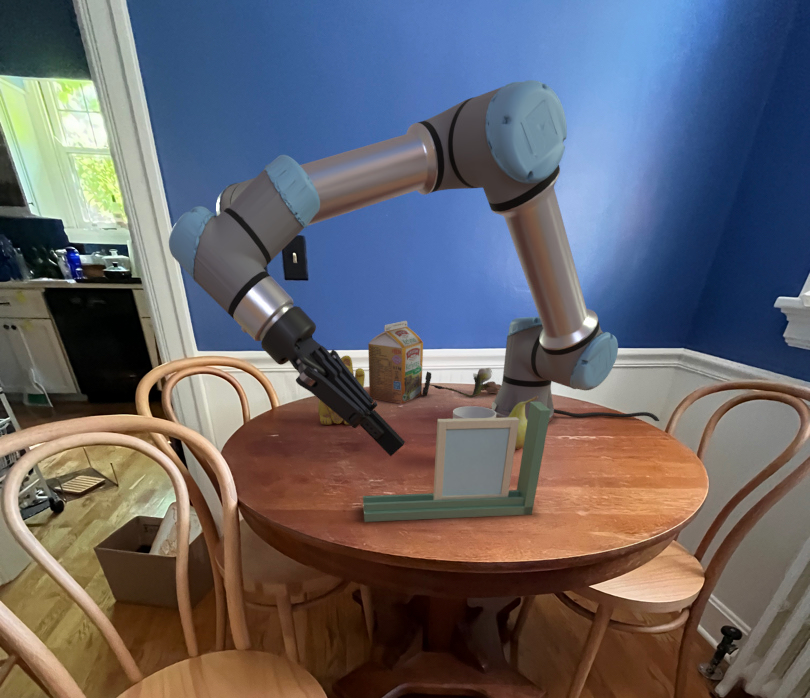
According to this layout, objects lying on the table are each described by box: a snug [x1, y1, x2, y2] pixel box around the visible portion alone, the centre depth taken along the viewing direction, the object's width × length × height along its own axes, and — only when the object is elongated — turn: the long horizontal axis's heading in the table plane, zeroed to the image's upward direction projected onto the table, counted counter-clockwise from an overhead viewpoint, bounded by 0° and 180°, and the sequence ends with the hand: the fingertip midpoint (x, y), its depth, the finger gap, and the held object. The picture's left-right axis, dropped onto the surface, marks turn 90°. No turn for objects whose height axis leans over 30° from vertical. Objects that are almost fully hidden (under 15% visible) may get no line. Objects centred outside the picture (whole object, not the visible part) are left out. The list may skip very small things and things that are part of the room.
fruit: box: [508, 396, 538, 450], centre depth 98 cm, size 7×8×12 cm
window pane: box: [433, 417, 519, 500], centre depth 73 cm, size 12×1×13 cm, turn 97°
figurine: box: [317, 355, 366, 426], centre depth 112 cm, size 11×9×15 cm
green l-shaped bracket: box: [362, 402, 551, 523], centre depth 73 cm, size 27×4×17 cm, turn 97°
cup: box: [452, 405, 496, 419], centre depth 92 cm, size 8×8×10 cm
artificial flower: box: [421, 367, 502, 398], centre depth 135 cm, size 9×22×10 cm, turn 89°
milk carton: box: [367, 320, 424, 405], centre depth 129 cm, size 11×11×19 cm
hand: (397, 448), depth 72 cm, fingers closed
